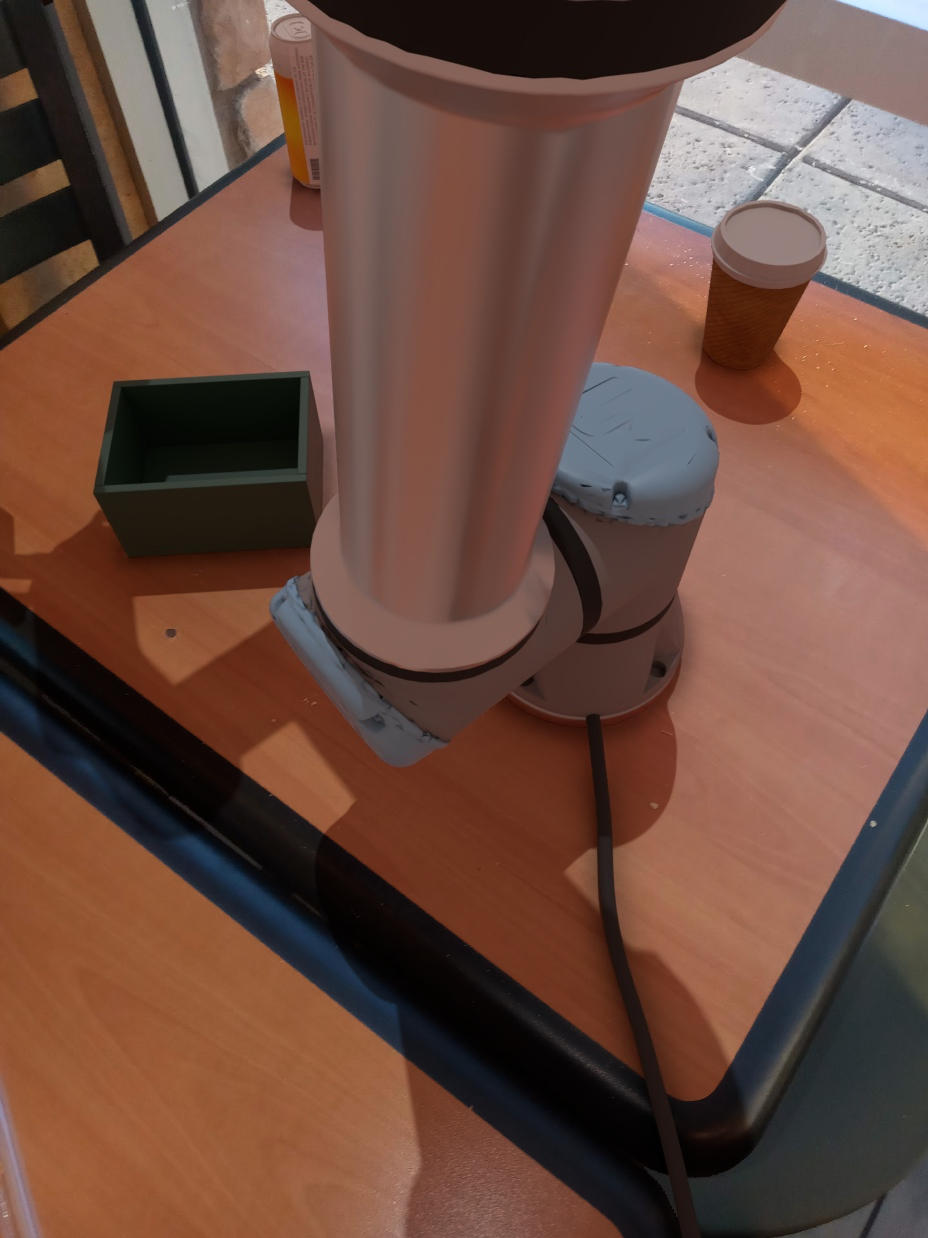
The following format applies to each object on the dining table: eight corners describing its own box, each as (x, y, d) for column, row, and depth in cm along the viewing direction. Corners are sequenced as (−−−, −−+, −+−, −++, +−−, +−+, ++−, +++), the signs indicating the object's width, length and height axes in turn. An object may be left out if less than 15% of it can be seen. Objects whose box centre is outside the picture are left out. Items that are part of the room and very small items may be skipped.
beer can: (340, 154, 101) (321, 5, 88) (354, 185, 98) (337, 36, 85) (287, 164, 100) (260, 16, 87) (299, 196, 97) (273, 47, 84)
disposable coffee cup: (810, 354, 84) (857, 240, 74) (734, 397, 81) (772, 284, 71) (738, 298, 88) (774, 182, 78) (663, 336, 85) (690, 222, 75)
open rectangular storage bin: (321, 546, 73) (306, 480, 66) (127, 557, 72) (92, 493, 65) (323, 439, 79) (309, 369, 72) (144, 450, 78) (113, 380, 71)
